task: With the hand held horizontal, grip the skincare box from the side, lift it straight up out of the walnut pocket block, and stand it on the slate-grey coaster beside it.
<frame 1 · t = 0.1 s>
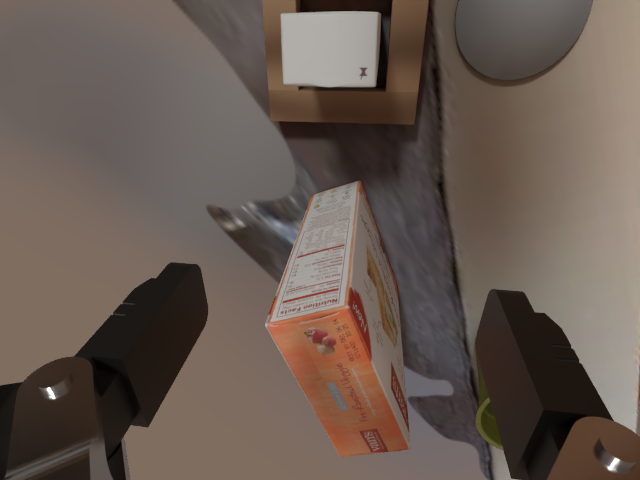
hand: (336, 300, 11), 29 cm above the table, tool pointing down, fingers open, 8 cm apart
cracker box: (358, 238, 44), on the table
pocket block: (344, 40, 34), on the table
slate coaster: (519, 12, 31), on the table
skincare box: (345, 40, 34), resting in pocket block
plant pot: (506, 337, 48), on the table
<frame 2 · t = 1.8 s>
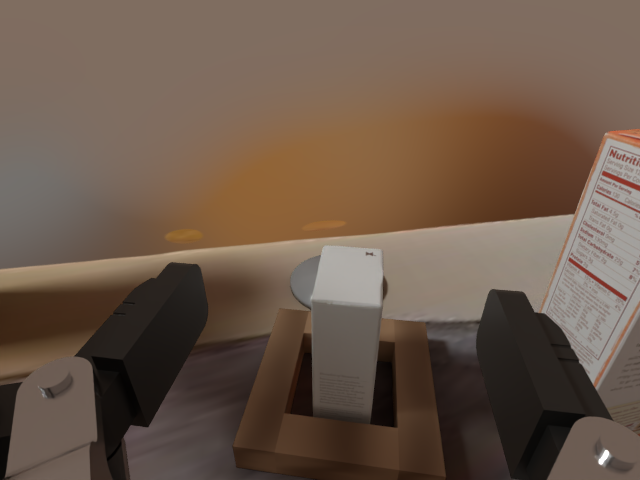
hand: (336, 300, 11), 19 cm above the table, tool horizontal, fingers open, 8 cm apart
cracker box: (605, 406, 30), on the table
pocket block: (343, 395, 30), on the table
slate coaster: (336, 283, 42), on the table
skincare box: (343, 396, 30), resting in pocket block
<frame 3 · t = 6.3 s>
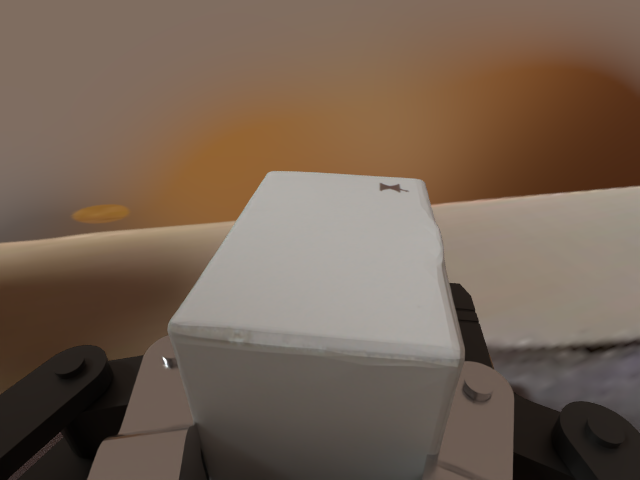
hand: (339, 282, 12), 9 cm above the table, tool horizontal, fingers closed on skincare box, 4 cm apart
when the fingers open (10 cm above the table, at t = 14.5 s): skincare box drops 1 cm, resting on slate coaster.
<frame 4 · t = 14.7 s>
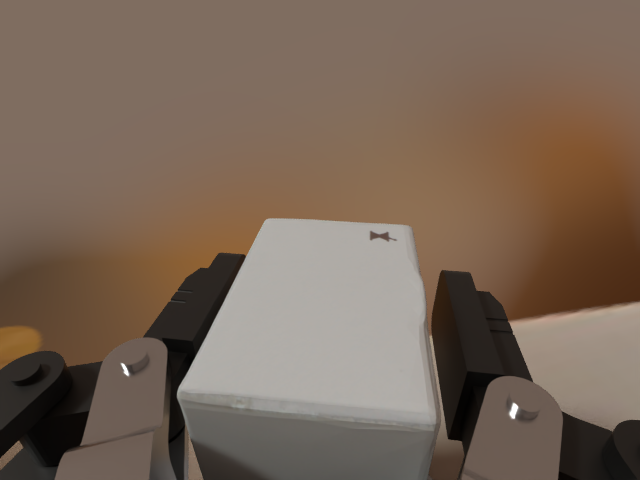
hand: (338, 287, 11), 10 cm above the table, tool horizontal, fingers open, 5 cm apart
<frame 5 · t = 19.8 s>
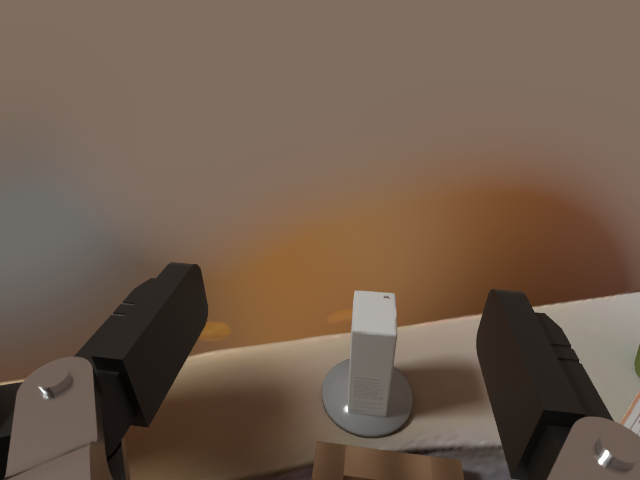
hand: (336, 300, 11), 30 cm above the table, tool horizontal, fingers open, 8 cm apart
slate coaster: (366, 395, 43), on the table
skincare box: (367, 393, 43), resting on slate coaster
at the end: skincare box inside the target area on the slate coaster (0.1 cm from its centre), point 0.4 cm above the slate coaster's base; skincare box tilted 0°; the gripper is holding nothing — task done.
